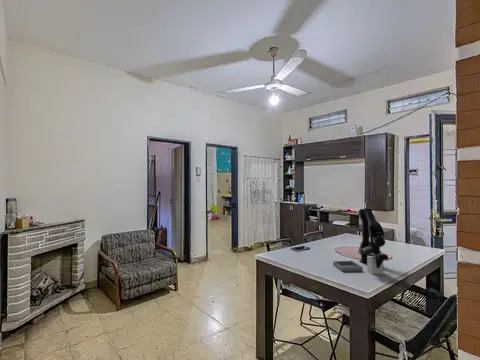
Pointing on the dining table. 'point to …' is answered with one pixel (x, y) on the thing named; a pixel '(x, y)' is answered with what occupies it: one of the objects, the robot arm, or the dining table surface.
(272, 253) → the dining table surface
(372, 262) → the small box
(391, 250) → the dining table surface
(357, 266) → the charcoal tray
